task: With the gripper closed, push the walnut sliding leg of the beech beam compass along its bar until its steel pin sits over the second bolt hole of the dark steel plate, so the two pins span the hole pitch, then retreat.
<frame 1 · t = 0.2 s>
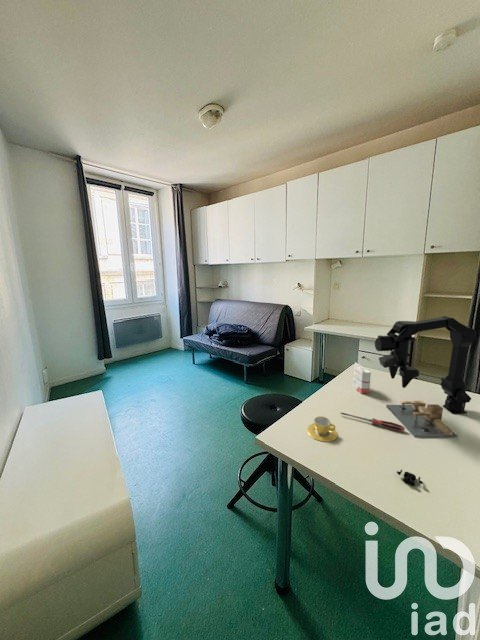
hand: (398, 382, 116), 14 cm above the table, fingers open, 9 cm apart
compass bar: (429, 420, 111), resting on steel plate
steel plate: (417, 420, 111), on the table
wireless earbuds: (409, 481, 82), on the table
screwdriver: (370, 424, 111), on the table
ink cartridge box: (360, 390, 139), on the table
slider leg: (426, 413, 109), point 5 cm above the table, slide at 0.0 cm
cup: (322, 433, 106), on the table
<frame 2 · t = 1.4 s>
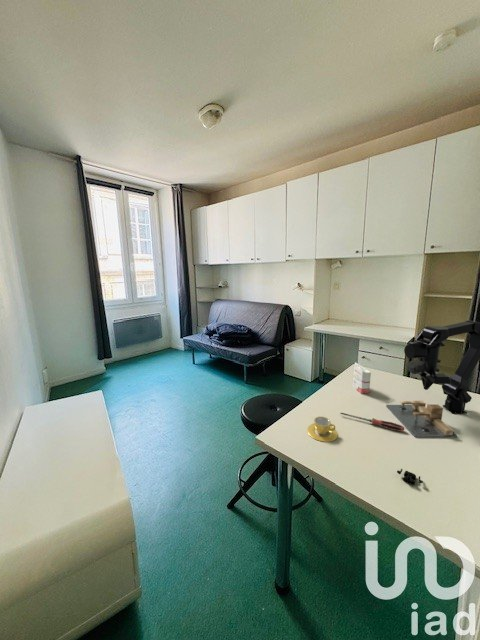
hand: (425, 389, 113), 12 cm above the table, fingers closed
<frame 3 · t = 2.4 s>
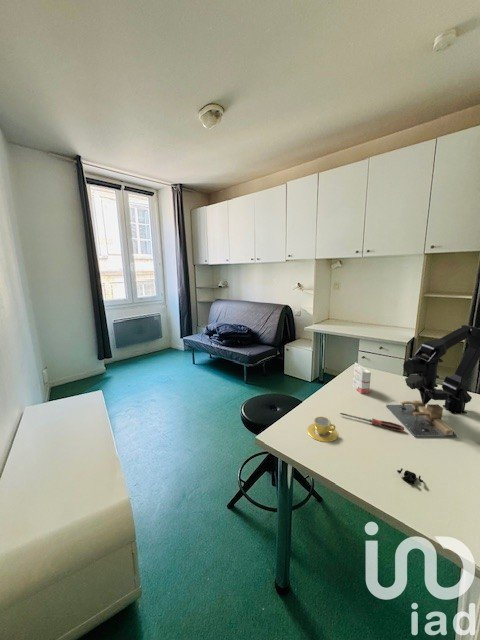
hand: (424, 404, 115), 5 cm above the table, fingers closed
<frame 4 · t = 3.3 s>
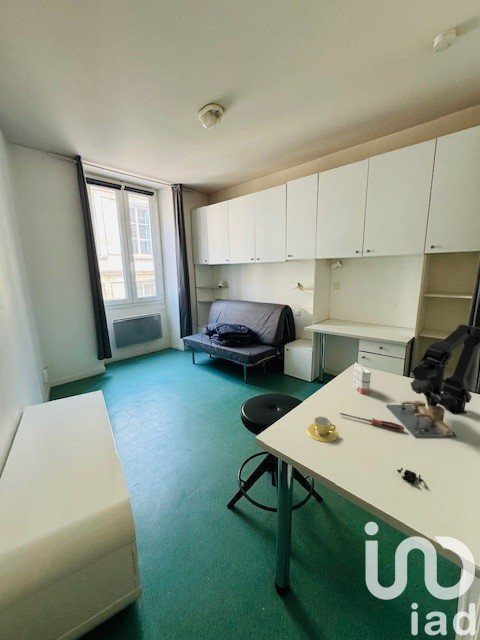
hand: (430, 409, 110), 5 cm above the table, fingers closed
slider leg: (428, 414, 108), point 5 cm above the table, slide at 0.9 cm, touching gripper
everything else where it was.
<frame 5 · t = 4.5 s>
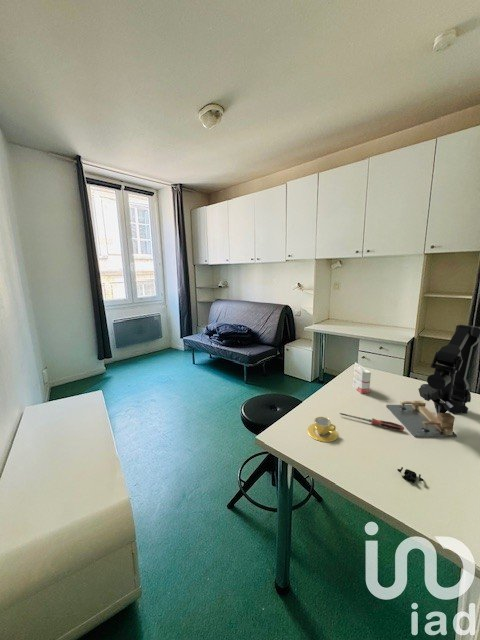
hand: (439, 416, 105), 5 cm above the table, fingers closed
slider leg: (437, 422, 102), point 5 cm above the table, slide at 6.3 cm, touching gripper
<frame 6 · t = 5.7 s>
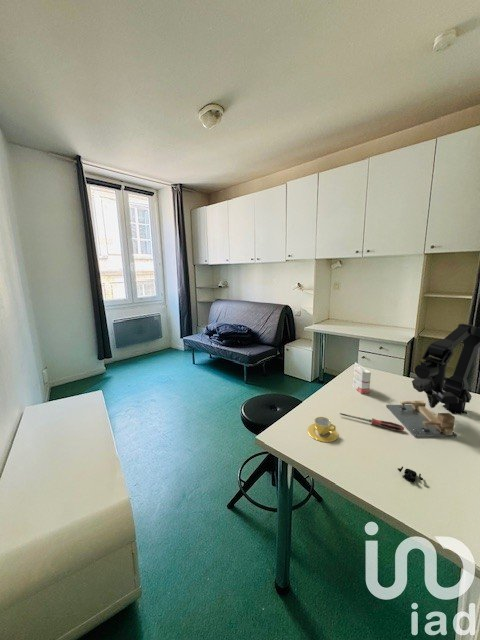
hand: (431, 407, 110), 6 cm above the table, fingers closed
slider leg: (437, 422, 102), point 5 cm above the table, slide at 6.4 cm
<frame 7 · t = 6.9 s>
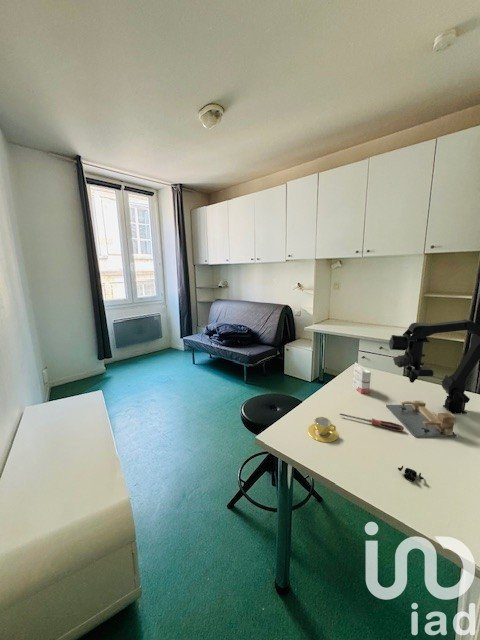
hand: (411, 382, 120), 12 cm above the table, fingers closed
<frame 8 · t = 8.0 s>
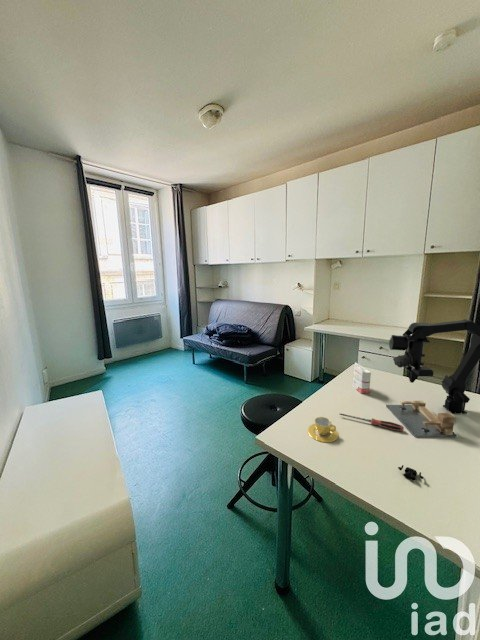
hand: (411, 382, 120), 12 cm above the table, fingers closed
at the end: slider leg slide at 6.4 cm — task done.
